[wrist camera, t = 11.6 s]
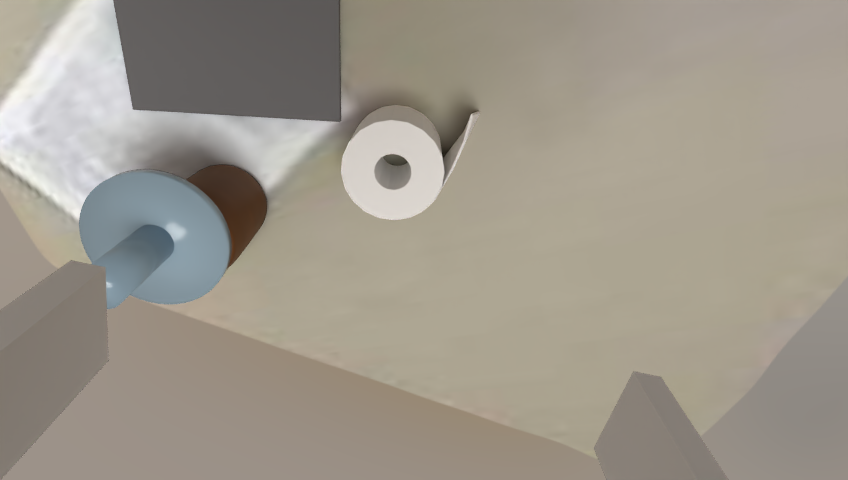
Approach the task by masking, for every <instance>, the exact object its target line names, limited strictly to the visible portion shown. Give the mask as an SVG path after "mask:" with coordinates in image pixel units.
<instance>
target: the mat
mask: <svg viewBox="0 0 848 480" xmlns="http://www.w3.org/2000/svg"><path fill="white" fill-rule="evenodd" d="M113 1H114V7H115V12H116V18H117V23H118V29H119V34H120V40H121V45H122V51H123V56H124V62H125V67H126V73H127V79H128V84H129V90H130V95H131V101H132V106H133V109H134V110H151V111H168V112H184V113H201V114H218V115H235V116H252V117H268V118H285V119H302V120H319V121H336V122H340V121H341V75H340V0H113Z"/></svg>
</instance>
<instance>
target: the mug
mask: <svg viewBox="0 0 848 480" xmlns="http://www.w3.org/2000/svg"><path fill="white" fill-rule="evenodd" d="M186 180H187V181H188V182H190V183H192V184H193V185H195V186H196V187H198V188H199V189H200V190H202V191H203V192H204V193H205V194H206V195H207V196H208V197H209V198H210V199H211V200H212V201H213V202H214V203H215V205H216V206H217V207H218V209H219V210H220V212H221V213H222V215H223V217H224V219H225V221H226V223H227V225H228V228H229V231H230V236H231V242H232V252H231V259H230V263H229V265H228V268H229V267H230V266H231V265H232V264H233V263H234V262H235V261H236V259H237V258H238V257H239V256H240V255H241V253H242V252H243V251H244V249H245V248H246V247H247V245H248V244H249V243H250V241H251V240H252V238H253V237H254V235H255V234H256V233H257V232H258V230H259V229H260V227H261V226H262V224H263V222H264V220H265V216H266V211H267V203H266V198H265V194H264V192H263V190H262V188H261V187H260V185H259V184H258V182H257V181H256V180H255V179H254V178H253V177H252V176H251V175H249V174H248V173H246V172H245V171H243V170H241V169H239V168H236V167H233V166H229V165H214V166H209V167H206V168H204V169H202V170H200V171H198V172H197V173H195V174H194V175H192V176H191V177H189V178H188V179H186ZM228 268H227V269H228Z"/></svg>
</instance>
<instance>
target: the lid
mask: <svg viewBox="0 0 848 480" xmlns="http://www.w3.org/2000/svg"><path fill="white" fill-rule="evenodd" d="M79 229H80V236H81V241H82V244H83V246H84V249H85V251H86V253H87V255H88V257H89V259H90V260H91V262H92V265H97V266H102V267H106V296H107V309H111V308H115V307H117V306H118V305H120V303H122V302H123V301H124V300H125V299H126V298H127V297H128V296H129V295H131V296H134V297H136V298H138V299H141V300H145V301H148V302H153V303H158V304H180V303H186V302H189V301H193V300H195V299H198V298H200V297H202V296H203V295H205V294H207V293H208V292H209V291H210V290H211V289H213V288H214V286H215V285H216V284H217V283H218V282H219V280H220V279H221V278H222V276H223V275H224V273H225V272H226V270H227V268H228V265H229V263H230V259H231V252H232V242H231V236H230V231H229V228H228V225H227V223H226V221H225V219H224V217H223V215H222V213H221V212H220V210H219V209H218V207H217V206H216V205H215V203H214V202H213V201H212V200H211V199H210V198H209V197H208V196H207V195H206V194H205V193H204V192H203V191H202V190H200V189H199V188H198V187H196V186H195V185H193V184H192V183H190V182H188V181H187V180H185V179H183V178H180V177H178V176H176V175H173V174H170V173H167V172H163V171H158V170H150V169H137V170H131V171H126V172H123V173H120V174H118V175H116V176H113V177H111V178H109V179H108V180H106V181H104V182H102V183H101V184H99V185H98V186H97V187H96V188H95V189H94V190H93V191H92V192H91V193H90V194H89V195H88V197H87V198H86V200H85V202H84V204H83V206H82V209H81V213H80V220H79Z"/></svg>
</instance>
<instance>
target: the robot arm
mask: <svg viewBox="0 0 848 480" xmlns="http://www.w3.org/2000/svg"><path fill="white" fill-rule="evenodd" d="M108 361H109V360H108V328H107V296H106V267H102V266H97V265H92V264H87V263H82V262H77V261H72V260H71V261H69V262H68V263H67V264H65V265H64V266H62V267H61V268H59V269H58V270H57V271H55V272H54V273H52V274H51V275H50V276H48V277H47V278H45V279H44V280H42V281H41V282H39V283H38V284H37V285H35V286H34V287H32V288H31V289H29V290H28V291H27V292H25V293H24V294H22V295H21V296H19V297H18V298H17V299H15V300H14V301H12V302H11V303H10V304H8V305H7V306H5V307H4V308H2V309H1V310H0V480H1V479H2V478H3V476H5V475H6V474H7V472H8V471H9V470H10V469H11V468H12V467H13V466H14V465H15V464H16V463H17V461H18V460H19V459H20V458H21V457H22V456H23V455H24V454H25V453H26V452H27V450H28V449H29V448H30V447H31V446H32V445H33V444H34V443H35V442H36V440H37V439H38V438H39V437H40V436H41V435H42V434H43V432H44V431H45V430H46V429H47V428H48V427H49V426H50V425H51V424H52V423H53V422H54V421H55V419H56V418H57V417H58V416H59V415H60V414H61V413H62V412H63V411H64V410H65V408H66V407H67V406H68V405H69V404H70V403H71V402H72V401H73V400H74V398H75V397H76V396H77V395H78V394H79V393H80V392H81V391H82V390H83V388H84V387H85V386H86V385H87V384H88V383H89V382H90V381H91V380H92V379H93V377H94V376H95V375H96V374H97V373H98V372H99V371H100V370H101V369H102V368H103V366H104V365H105V364H106V363H107V362H108ZM594 450H595V452H596V455H597V457H598V460H599V462H600V465H601V468H602V470H603V473H604V475H605V478H606V480H728V478H727V477H726V475H725V474H724V472H723V471H722V469H721V468H720V466H719V465H718V463H717V461H716V460H715V458H714V457H713V455H712V454H711V452H710V451H709V449H708V448H707V446H706V445H705V443H704V442H703V440H702V439H701V437H700V436H699V434H698V432H697V431H696V429H695V428H694V426H693V425H692V423H691V422H690V420H689V419H688V417H687V416H686V414H685V413H684V411H683V410H682V408H681V407H680V405H679V404H678V402H677V401H676V399H675V397H674V396H673V394H672V393H671V391H670V390H669V388H668V387H667V385H666V384H665V382H664V381H663V379H662V378H661V377H659V376H654V375H649V374H644V373H639V372H634V371H633V373H632V375H631V377H630V379H629V381H628V383H627V385H626V387H625V389H624V391H623V393H622V394H621V396H620V398H619V400H618V402H617V404H616V406H615V408H614V410H613V412H612V414H611V416H610V418H609V420H608V421H607V423H606V425H605V427H604V429H603V431H602V433H601V435H600V437H599V439H598V441H597V443H596V445H595V447H594Z"/></svg>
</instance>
